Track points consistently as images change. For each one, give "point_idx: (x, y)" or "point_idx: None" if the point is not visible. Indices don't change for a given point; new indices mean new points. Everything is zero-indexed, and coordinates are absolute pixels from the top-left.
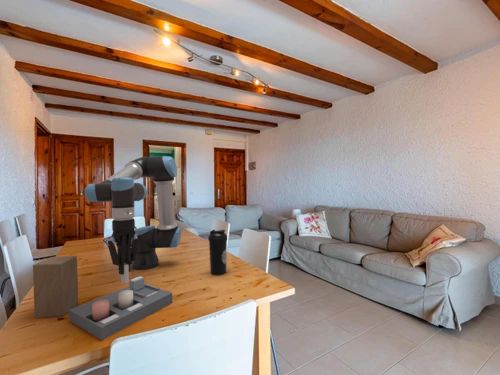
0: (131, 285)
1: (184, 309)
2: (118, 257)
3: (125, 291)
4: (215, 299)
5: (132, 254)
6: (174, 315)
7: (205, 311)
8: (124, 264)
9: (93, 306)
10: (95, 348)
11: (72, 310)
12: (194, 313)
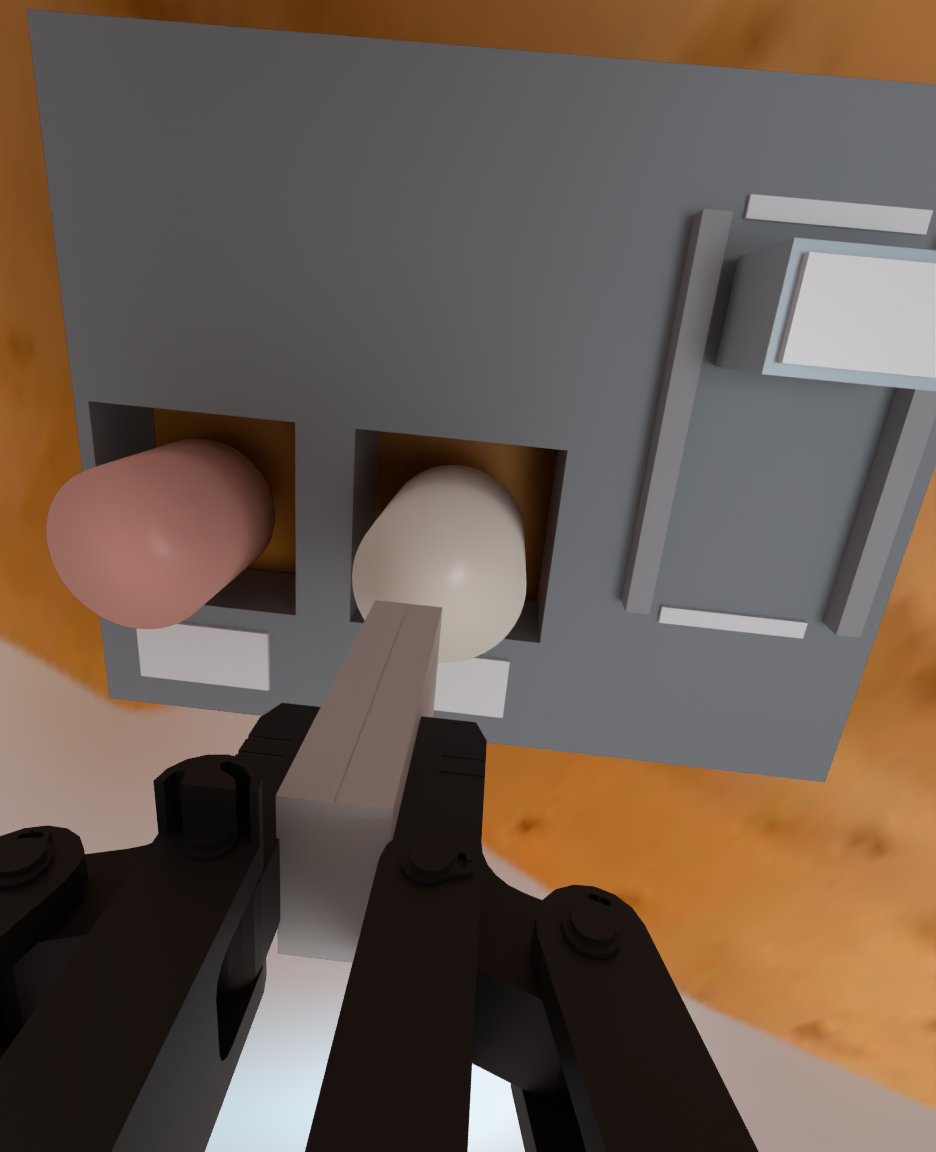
0: (753, 305)
1: (710, 866)
2: (23, 1087)
3: (463, 550)
4: (932, 975)
5: (682, 1114)
6: (608, 854)
7: (732, 991)
8: (264, 977)
9: (50, 549)
10: (102, 686)
11: (50, 88)
12: (683, 948)
